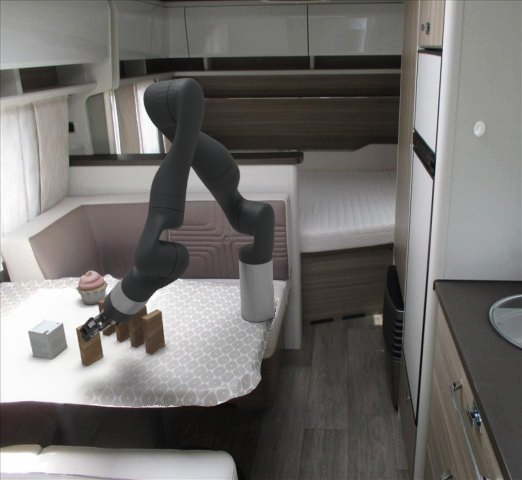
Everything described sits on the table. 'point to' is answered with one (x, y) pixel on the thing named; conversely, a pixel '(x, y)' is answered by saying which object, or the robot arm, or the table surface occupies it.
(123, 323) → the domino
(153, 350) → the domino
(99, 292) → the cupcake
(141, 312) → the domino
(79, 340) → the domino
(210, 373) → the table surface
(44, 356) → the skincare box
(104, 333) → the domino
